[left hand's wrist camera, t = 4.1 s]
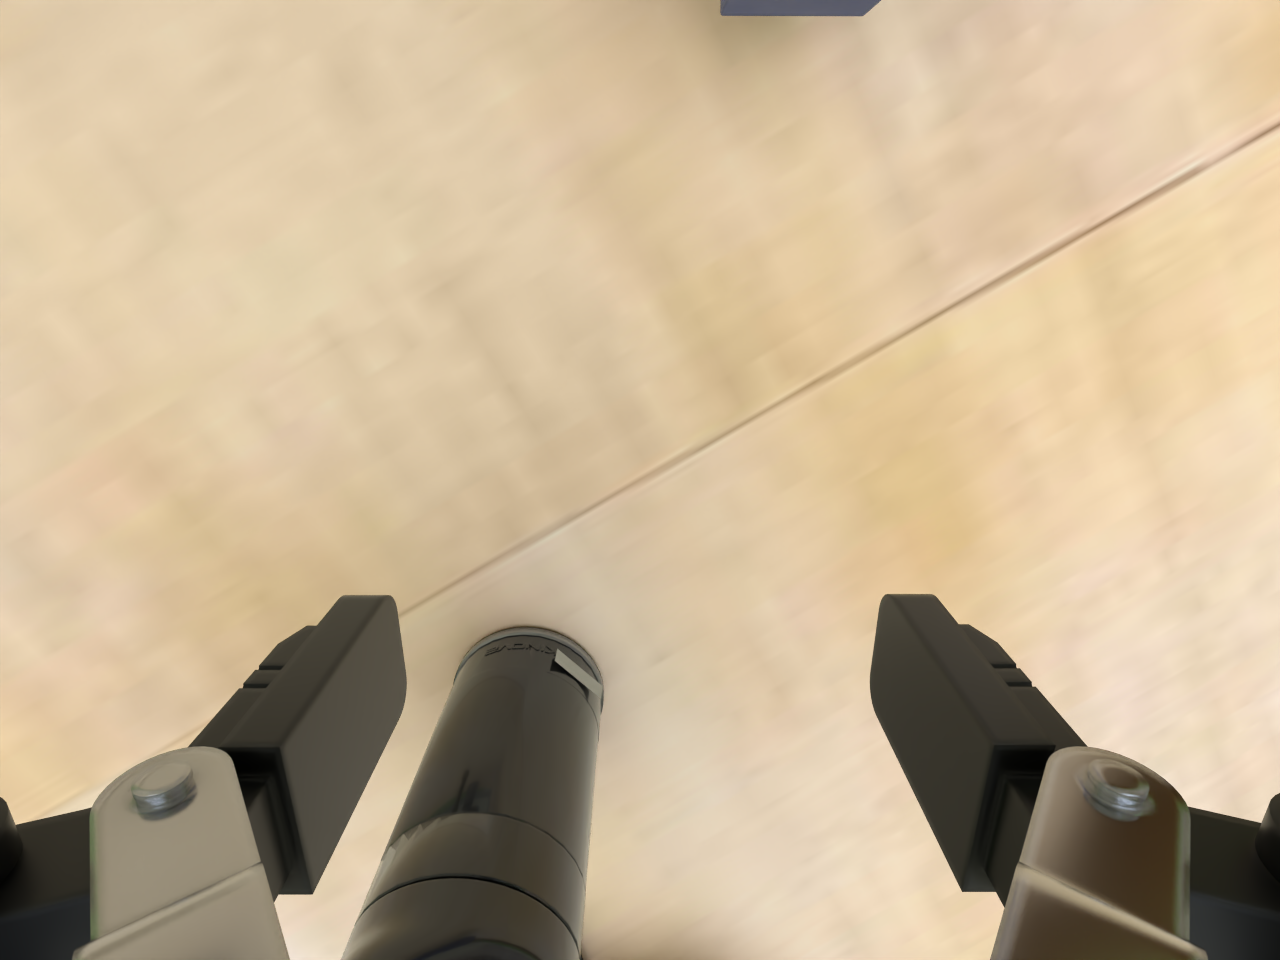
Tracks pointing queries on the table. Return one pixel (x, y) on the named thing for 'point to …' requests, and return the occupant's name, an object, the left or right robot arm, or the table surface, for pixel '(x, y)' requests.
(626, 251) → the table surface
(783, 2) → the bar
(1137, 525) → the table surface
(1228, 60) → the table surface
